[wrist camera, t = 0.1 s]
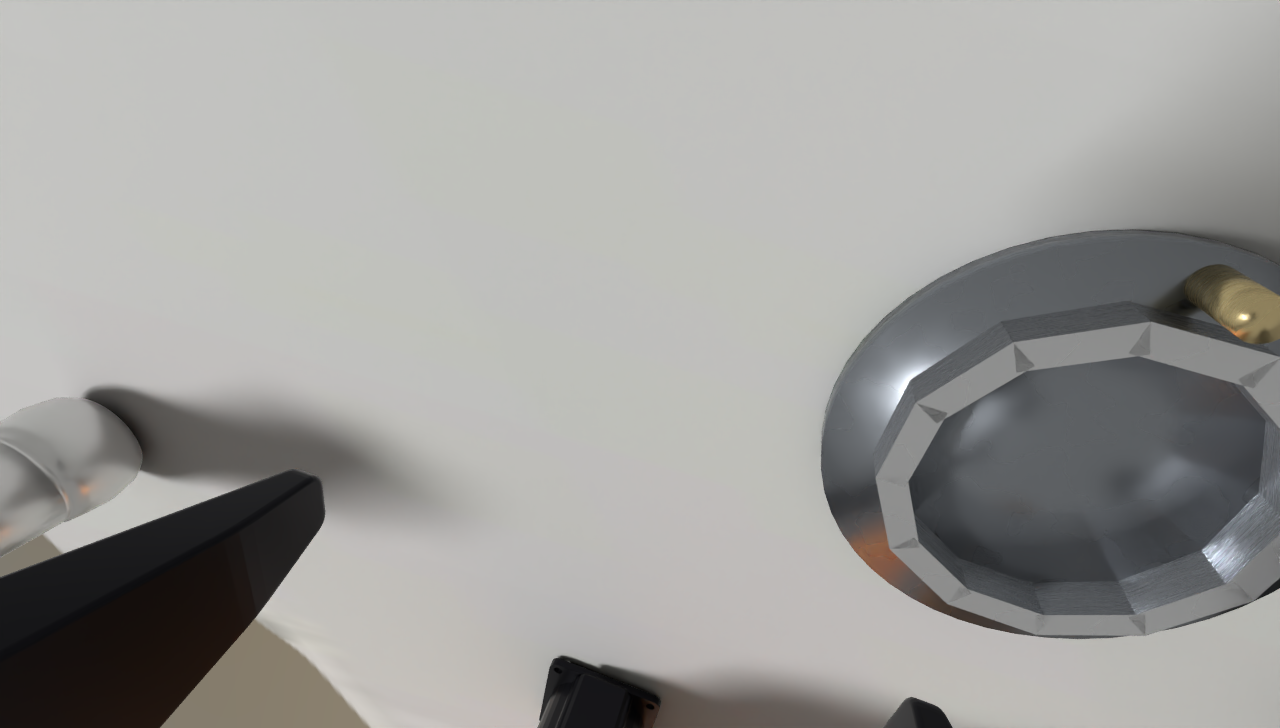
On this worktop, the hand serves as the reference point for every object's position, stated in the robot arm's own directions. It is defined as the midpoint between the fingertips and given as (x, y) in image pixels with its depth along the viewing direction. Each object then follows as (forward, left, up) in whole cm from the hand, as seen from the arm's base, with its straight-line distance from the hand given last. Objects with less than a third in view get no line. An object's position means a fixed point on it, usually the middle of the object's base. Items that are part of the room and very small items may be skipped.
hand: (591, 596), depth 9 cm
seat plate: (-3, -13, -15) cm, 20 cm away
